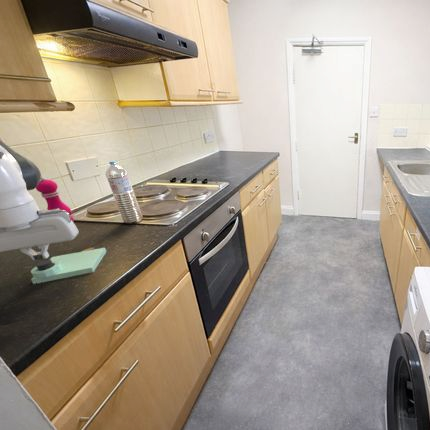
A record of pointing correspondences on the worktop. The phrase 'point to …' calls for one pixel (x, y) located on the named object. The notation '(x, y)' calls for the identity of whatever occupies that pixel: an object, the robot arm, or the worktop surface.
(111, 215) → the worktop surface
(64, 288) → the worktop surface
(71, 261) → the scale
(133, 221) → the water bottle
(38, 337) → the worktop surface
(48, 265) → the tare button
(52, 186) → the pepper mill
